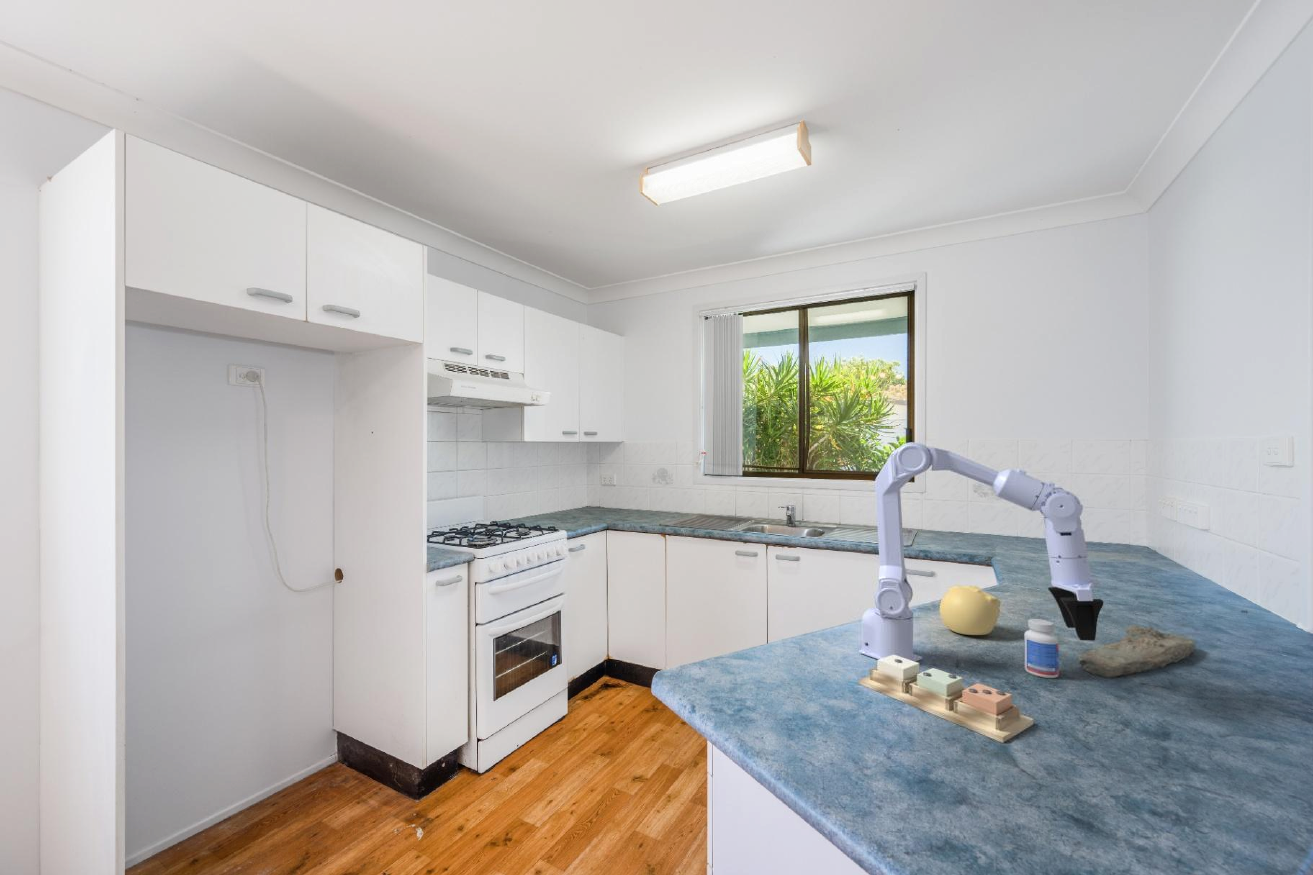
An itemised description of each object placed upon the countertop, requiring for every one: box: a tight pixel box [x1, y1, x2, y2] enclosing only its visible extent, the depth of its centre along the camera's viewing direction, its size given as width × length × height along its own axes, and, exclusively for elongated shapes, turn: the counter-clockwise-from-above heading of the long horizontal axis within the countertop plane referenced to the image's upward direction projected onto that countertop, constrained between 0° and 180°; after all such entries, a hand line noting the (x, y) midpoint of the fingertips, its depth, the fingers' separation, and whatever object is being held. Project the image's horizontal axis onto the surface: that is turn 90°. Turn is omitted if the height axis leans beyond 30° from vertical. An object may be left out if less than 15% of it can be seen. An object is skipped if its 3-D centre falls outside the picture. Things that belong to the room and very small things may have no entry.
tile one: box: [876, 655, 920, 681], centre depth 99 cm, size 5×5×3 cm
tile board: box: [858, 666, 1034, 744], centre depth 93 cm, size 24×10×3 cm, turn 34°
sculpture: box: [939, 584, 1001, 636], centre depth 130 cm, size 12×12×11 cm
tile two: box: [917, 667, 963, 697], centre depth 93 cm, size 5×5×3 cm
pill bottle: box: [1023, 618, 1060, 679], centre depth 106 cm, size 6×5×10 cm
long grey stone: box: [1077, 624, 1196, 679], centre depth 113 cm, size 35×5×10 cm
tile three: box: [962, 683, 1013, 716], centre depth 86 cm, size 5×5×3 cm
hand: (1080, 633), depth 98 cm, fingers open, 7 cm apart
